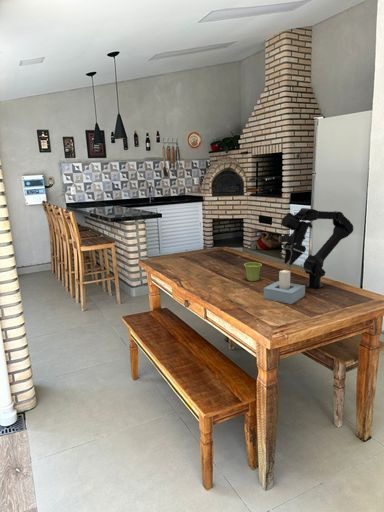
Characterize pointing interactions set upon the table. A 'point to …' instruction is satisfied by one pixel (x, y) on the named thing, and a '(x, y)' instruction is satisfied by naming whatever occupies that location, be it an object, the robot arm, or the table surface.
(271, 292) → the grey thick square frame
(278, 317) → the table surface
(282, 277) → the post
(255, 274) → the plant pot
